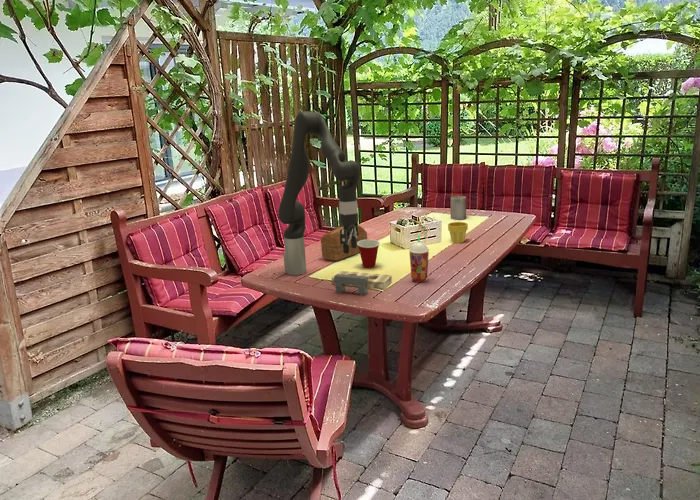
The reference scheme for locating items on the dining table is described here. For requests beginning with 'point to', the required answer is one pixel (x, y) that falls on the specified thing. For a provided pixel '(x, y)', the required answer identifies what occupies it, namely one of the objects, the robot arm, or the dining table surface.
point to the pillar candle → (458, 207)
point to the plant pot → (457, 231)
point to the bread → (333, 246)
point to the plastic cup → (368, 252)
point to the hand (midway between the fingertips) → (350, 250)
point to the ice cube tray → (370, 279)
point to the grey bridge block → (351, 282)
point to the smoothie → (419, 261)
